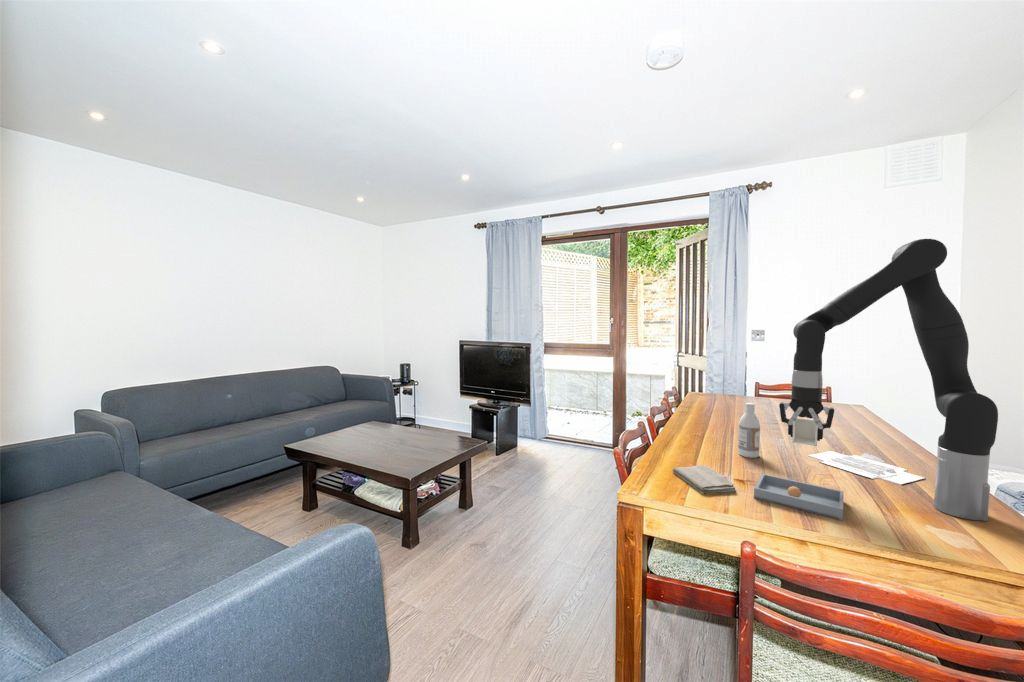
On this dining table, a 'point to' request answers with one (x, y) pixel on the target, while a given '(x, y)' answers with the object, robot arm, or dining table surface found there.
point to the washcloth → (705, 479)
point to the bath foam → (749, 433)
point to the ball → (794, 491)
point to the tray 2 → (867, 467)
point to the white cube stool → (805, 432)
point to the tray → (809, 501)
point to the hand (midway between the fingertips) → (804, 438)
